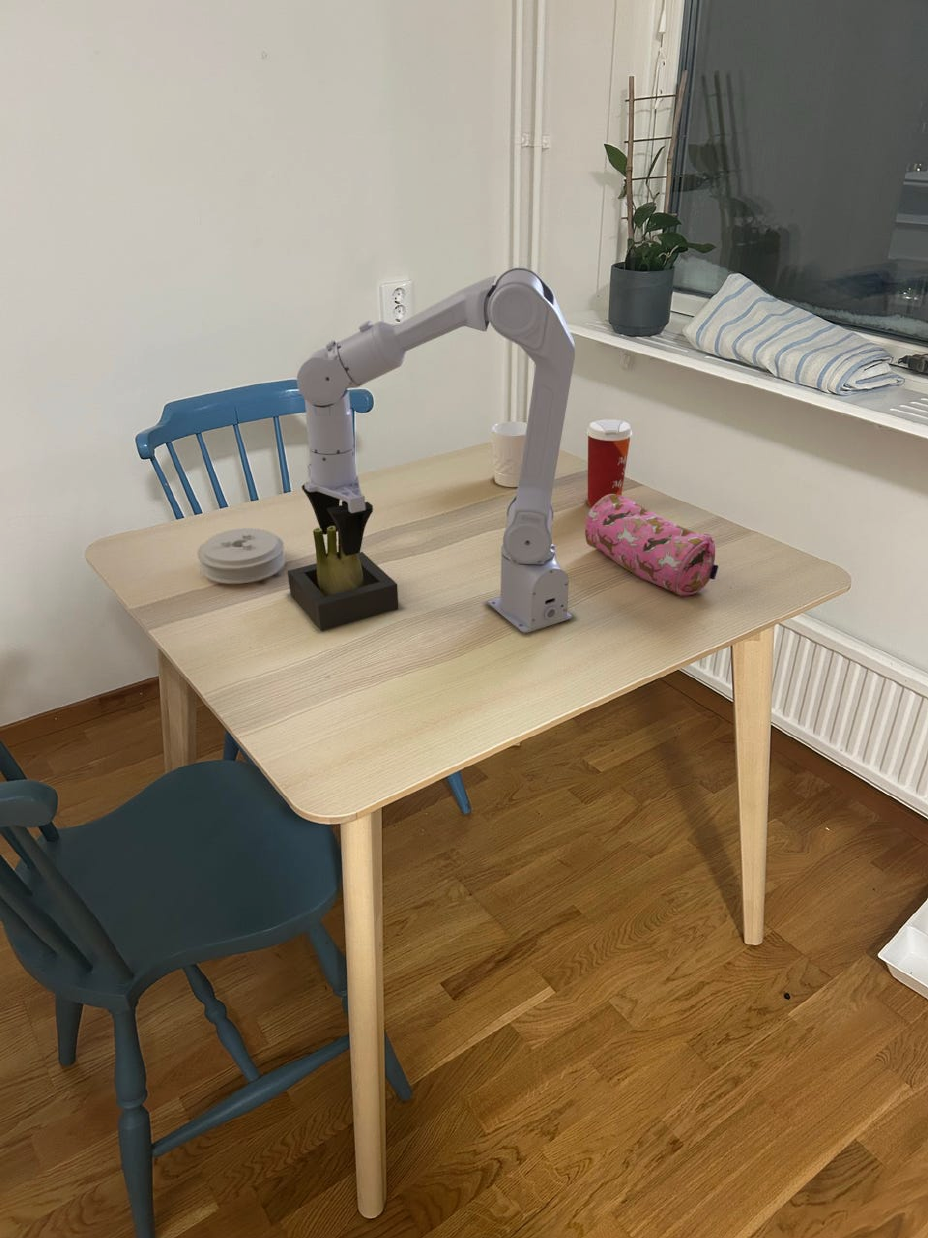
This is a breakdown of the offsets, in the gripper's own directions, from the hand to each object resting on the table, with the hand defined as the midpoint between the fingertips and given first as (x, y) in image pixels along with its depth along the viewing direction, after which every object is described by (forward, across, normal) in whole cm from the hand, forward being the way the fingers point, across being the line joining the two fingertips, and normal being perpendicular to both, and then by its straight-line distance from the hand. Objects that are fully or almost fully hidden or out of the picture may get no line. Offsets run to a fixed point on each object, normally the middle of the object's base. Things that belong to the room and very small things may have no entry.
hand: (340, 542), depth 121 cm
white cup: (+10, -26, +45) cm, 53 cm away
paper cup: (+10, -9, +53) cm, 54 cm away
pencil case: (+10, +14, +43) cm, 46 cm away
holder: (+9, 0, 0) cm, 9 cm away
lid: (+9, -17, -9) cm, 22 cm away
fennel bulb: (+9, 0, 0) cm, 9 cm away
